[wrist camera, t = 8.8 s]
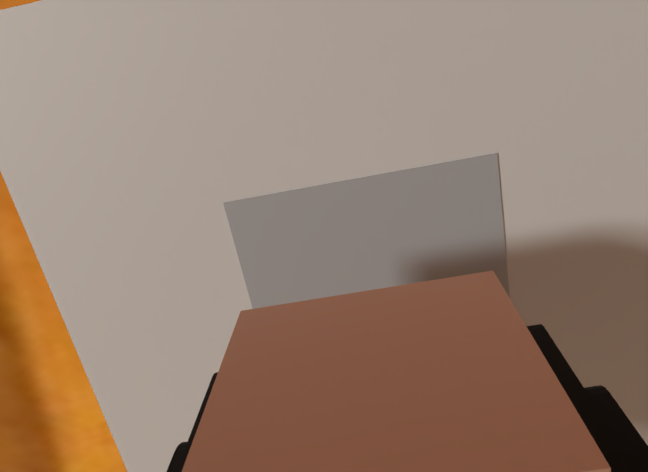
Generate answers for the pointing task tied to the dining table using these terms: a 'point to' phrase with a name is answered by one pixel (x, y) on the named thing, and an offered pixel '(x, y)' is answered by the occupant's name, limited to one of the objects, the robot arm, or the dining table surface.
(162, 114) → the grey base
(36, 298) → the dining table surface
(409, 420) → the terracotta cube
